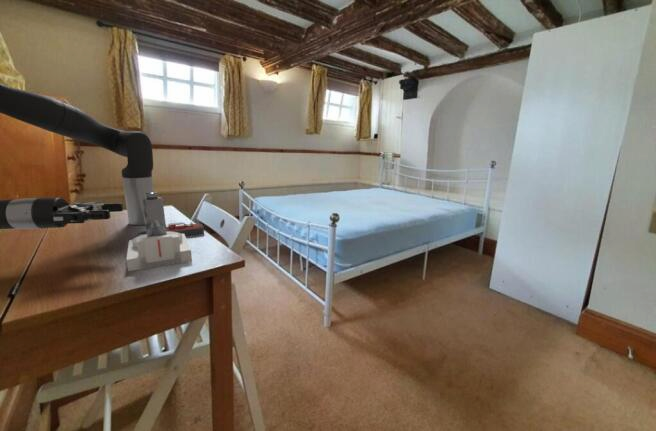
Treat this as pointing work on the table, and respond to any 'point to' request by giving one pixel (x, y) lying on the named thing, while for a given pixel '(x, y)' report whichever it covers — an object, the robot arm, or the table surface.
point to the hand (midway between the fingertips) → (116, 210)
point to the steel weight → (154, 215)
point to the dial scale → (157, 251)
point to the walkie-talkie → (183, 229)
